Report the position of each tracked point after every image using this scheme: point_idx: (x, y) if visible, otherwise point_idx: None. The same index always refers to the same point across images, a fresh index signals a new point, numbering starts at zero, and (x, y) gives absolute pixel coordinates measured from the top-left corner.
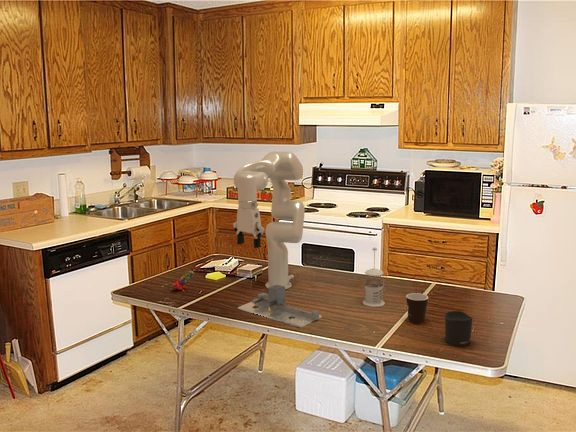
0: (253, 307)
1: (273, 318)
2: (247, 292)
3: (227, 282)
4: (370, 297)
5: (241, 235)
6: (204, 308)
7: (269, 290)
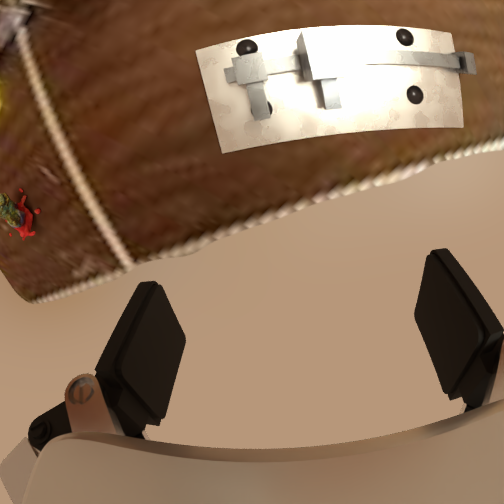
0: None
1: (378, 129)
2: (109, 55)
3: (22, 83)
4: None
5: (141, 389)
6: (161, 224)
7: (317, 79)
